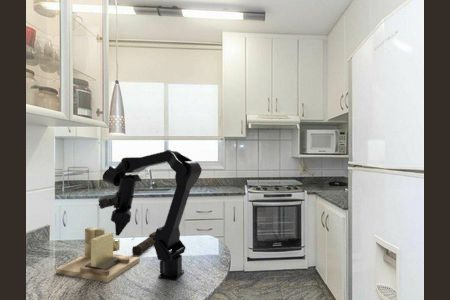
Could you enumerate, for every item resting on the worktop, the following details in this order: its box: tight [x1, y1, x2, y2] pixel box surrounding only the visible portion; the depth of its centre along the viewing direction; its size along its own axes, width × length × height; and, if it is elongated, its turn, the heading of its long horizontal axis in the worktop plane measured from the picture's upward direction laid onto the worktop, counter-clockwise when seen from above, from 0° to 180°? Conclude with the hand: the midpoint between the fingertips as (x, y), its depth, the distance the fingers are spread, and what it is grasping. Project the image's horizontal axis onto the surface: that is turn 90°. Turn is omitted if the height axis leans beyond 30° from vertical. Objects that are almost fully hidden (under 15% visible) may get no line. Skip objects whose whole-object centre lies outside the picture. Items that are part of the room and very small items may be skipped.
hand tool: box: [131, 231, 156, 256], centre depth 108 cm, size 19×4×5 cm, turn 168°
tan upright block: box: [85, 231, 121, 270], centre depth 87 cm, size 7×12×10 cm, turn 163°
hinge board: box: [55, 227, 141, 283], centre depth 88 cm, size 22×16×12 cm
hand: (118, 229), depth 92 cm, fingers open, 9 cm apart
